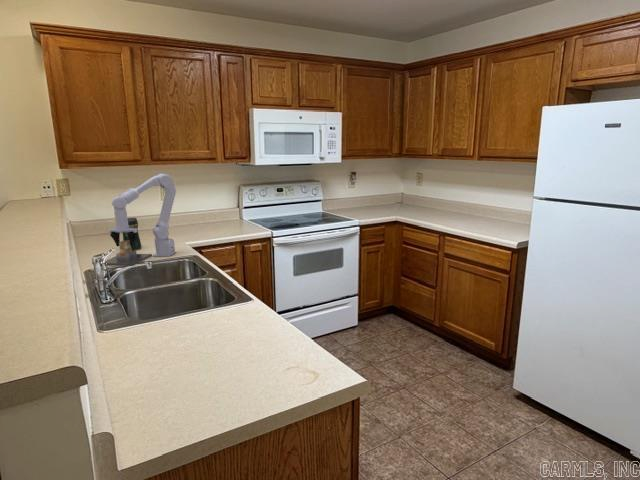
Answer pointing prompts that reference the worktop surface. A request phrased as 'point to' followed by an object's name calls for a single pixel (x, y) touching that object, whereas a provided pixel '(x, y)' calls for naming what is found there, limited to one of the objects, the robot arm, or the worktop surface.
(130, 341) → the worktop surface
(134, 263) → the jack base
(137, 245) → the coffee jar
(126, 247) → the column
